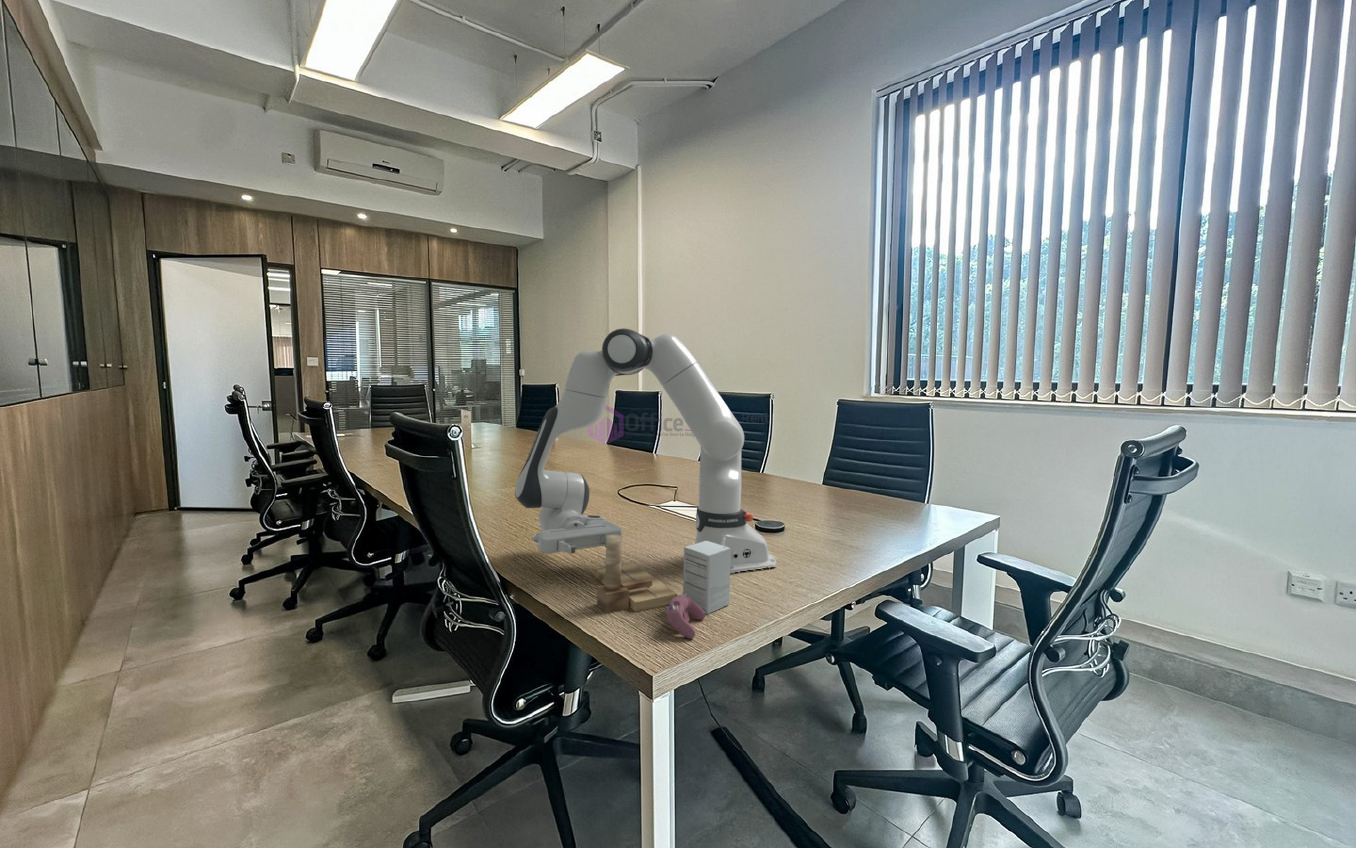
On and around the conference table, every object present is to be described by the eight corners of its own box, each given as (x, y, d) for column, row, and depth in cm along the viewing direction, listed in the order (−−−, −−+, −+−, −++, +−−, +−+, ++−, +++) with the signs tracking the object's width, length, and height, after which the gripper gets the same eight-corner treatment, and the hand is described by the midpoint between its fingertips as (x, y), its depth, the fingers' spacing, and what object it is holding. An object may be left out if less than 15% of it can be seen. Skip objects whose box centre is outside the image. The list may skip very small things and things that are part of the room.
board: (594, 576, 131) (595, 568, 130) (632, 570, 136) (632, 562, 135) (635, 611, 112) (635, 602, 112) (677, 602, 117) (677, 593, 117)
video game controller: (687, 623, 111) (673, 591, 111) (707, 616, 109) (693, 584, 110) (674, 646, 101) (659, 611, 101) (695, 638, 100) (680, 603, 100)
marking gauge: (606, 613, 111) (607, 541, 109) (597, 604, 115) (598, 535, 114) (655, 603, 116) (656, 534, 115) (644, 595, 121) (646, 528, 119)
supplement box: (704, 594, 122) (706, 539, 120) (730, 605, 116) (732, 547, 115) (681, 603, 116) (682, 546, 115) (706, 615, 111) (708, 555, 110)
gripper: (529, 523, 130) (547, 539, 118) (608, 515, 140) (632, 528, 129) (529, 549, 130) (547, 567, 118) (607, 539, 141) (631, 554, 129)
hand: (592, 547), depth 124 cm, fingers open, 8 cm apart
